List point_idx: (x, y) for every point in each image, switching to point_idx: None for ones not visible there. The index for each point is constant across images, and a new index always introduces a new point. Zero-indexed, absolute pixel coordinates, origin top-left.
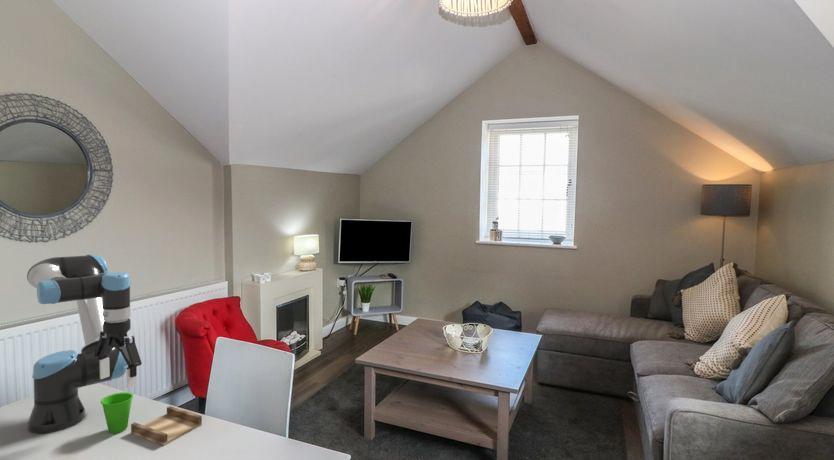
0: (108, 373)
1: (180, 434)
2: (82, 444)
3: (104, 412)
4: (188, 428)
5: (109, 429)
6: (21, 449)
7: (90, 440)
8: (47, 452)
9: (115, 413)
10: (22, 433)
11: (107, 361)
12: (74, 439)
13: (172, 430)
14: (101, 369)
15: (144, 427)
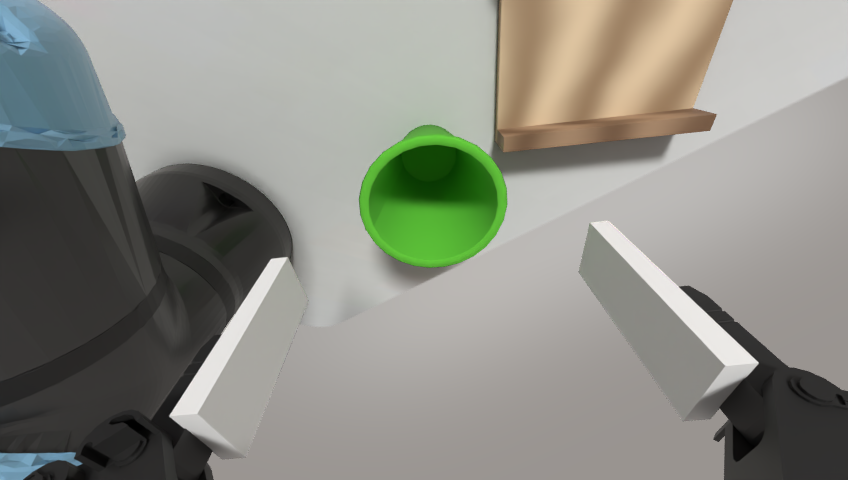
0: (282, 281)
1: (717, 41)
2: None
3: (422, 229)
4: None
5: (432, 188)
6: (334, 315)
7: None
8: (397, 295)
9: (471, 212)
10: None
11: (231, 387)
12: None
13: (658, 41)
14: (282, 362)
15: (579, 137)
